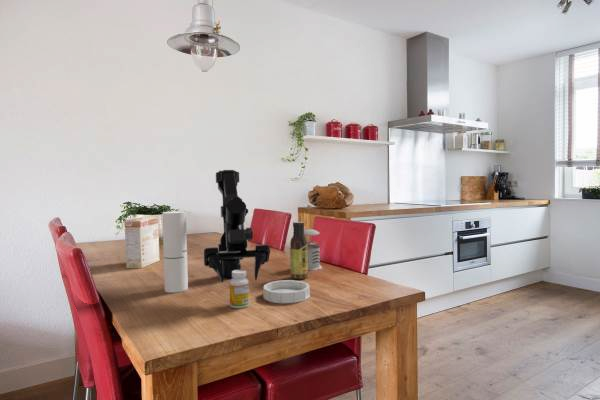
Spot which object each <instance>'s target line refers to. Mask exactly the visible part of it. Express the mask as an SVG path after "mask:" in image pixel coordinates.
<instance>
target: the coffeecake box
mask: <svg viewBox="0 0 600 400" xmlns="http://www.w3.org/2000/svg"><path fill="white" fill-rule="evenodd" d="M159 234H160V233H159V217H158V216H142V217H135V218H132V219H131V218H130V219H127V220H124V235H125V236H124V239H125V258H126V259H125V261H126V265H125V266H126V269H143V268H146V267H148V266H150V265H152V264H154V263H157V262H160V241H159V240H160V237H159Z"/></svg>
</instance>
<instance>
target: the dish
mask: <svg viewBox="0 0 600 400" xmlns="http://www.w3.org/2000/svg"><path fill="white" fill-rule="evenodd" d="M262 296H263V299H264V300H265V301H268V302H270V303H273V304H297V303H301V302H305V301H306V300H309V299H310V298H311V286H310V283H307V282H305V281H302V280H296V279H285V280H283V279H282V280H274V281H270V282H268V283H265V284H264V285H263V295H262Z"/></svg>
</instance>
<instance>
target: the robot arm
mask: <svg viewBox="0 0 600 400" xmlns="http://www.w3.org/2000/svg"><path fill="white" fill-rule="evenodd" d="M215 183H216V184H217V190H219V192H220V194H221V195H222V206H220V218H222V220H223V234H221V237H220V238H219V243H218V244H217V245H218V246H215V247H211V246H210V247H205V248H204V249H203V260H204V261H203V266H205V267H208V268H209V269H213V271H214V272H215V273H216V274H217V277H218V278H219V280H220V282H221V283H224V278H225V279H232V278H233V277H232V271H234V270H242V266H241V263H240V261H242V260H244V259H246V258H247V259H248V258H254V280H255V281H257V280H258V276H259V271H260V269H261V266H262V265H265V263H267V262H268V263H269V259H270V254H271V248H270V246H269V245H268V244H256V245H255V248H254V249H253V250H252V249H251V250H250V249H249V250H247V248H248V241H250V240H253V239H254V232H253V227H245V226H244V225H245V224H244V223H245V220H246V216H247V214H249V208H247V204H246V203H245V202H244V201H243V198H241V197H240V196H239V195H238V184H239V183H240V172H239V171H236V170H235V169H223V170H218V172H217V171H216V173H215Z"/></svg>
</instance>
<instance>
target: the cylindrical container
mask: <svg viewBox="0 0 600 400" xmlns="http://www.w3.org/2000/svg"><path fill="white" fill-rule="evenodd" d="M187 236H188V235H187V211H179V210H177V211H176V210H175V211H163V212H162V246H163V250H162V251H163V272H164V273H163V276H164V277H163V278H164V292H166V293H168V294H169V293H174V294H175V293H181V292H185V291H187V290H188V289H189V283H188V280H189V279H188V277H189V276H188V274H189V273H188V245H187V244H188V243H187V241H188V240H187V238H188V237H187Z"/></svg>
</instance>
